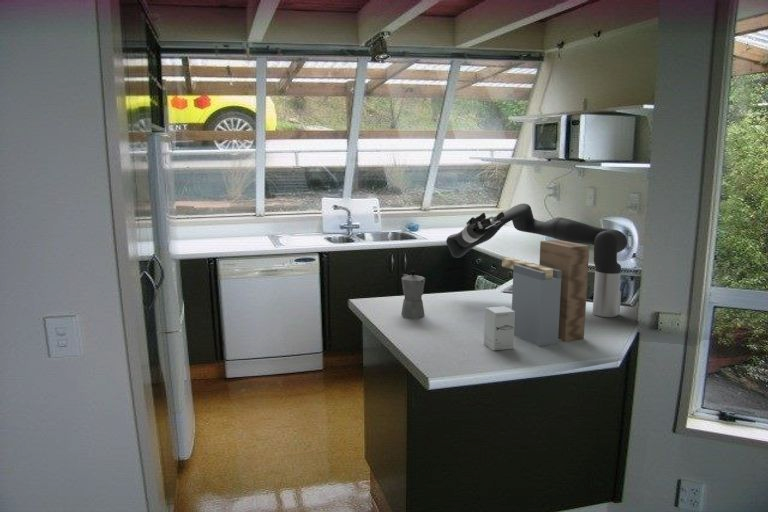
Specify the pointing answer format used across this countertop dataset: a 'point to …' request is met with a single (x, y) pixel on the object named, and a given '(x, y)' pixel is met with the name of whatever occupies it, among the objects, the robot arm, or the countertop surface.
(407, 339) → the countertop surface
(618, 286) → the robot arm
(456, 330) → the countertop surface
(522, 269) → the slate grooved rack
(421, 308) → the coffeepot
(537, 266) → the birch bar
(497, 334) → the supplement box
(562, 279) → the walnut pedestal
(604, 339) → the countertop surface
